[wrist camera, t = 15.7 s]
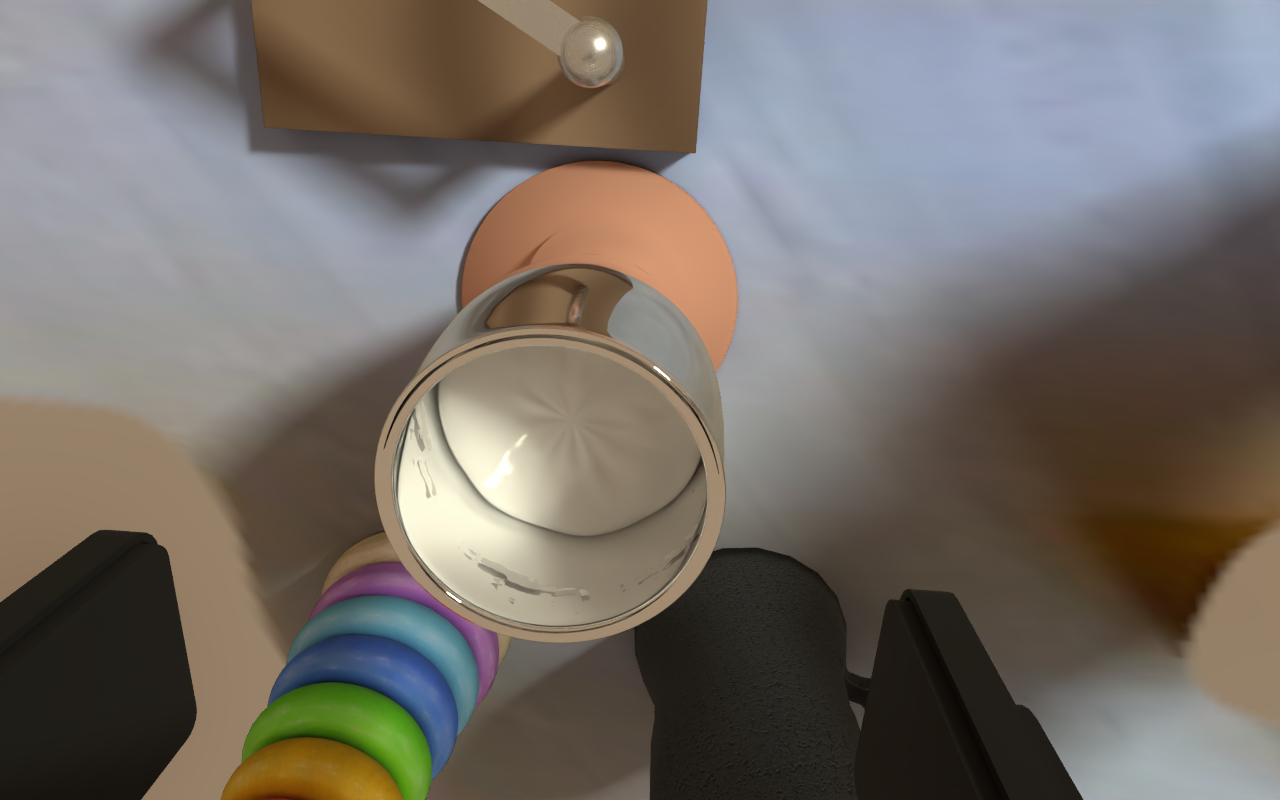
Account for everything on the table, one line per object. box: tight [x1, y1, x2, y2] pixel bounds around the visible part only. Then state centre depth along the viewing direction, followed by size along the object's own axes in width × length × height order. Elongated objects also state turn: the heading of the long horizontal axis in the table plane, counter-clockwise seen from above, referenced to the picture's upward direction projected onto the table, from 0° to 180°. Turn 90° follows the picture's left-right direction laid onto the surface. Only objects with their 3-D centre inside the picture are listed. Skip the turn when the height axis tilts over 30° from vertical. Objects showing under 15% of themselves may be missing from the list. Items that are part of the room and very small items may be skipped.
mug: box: [634, 548, 871, 800], centre depth 29 cm, size 12×9×11 cm
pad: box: [462, 161, 738, 372], centre depth 29 cm, size 10×10×1 cm
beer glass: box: [374, 220, 726, 643], centre depth 22 cm, size 7×7×15 cm
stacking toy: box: [221, 532, 512, 800], centre depth 25 cm, size 8×8×19 cm
